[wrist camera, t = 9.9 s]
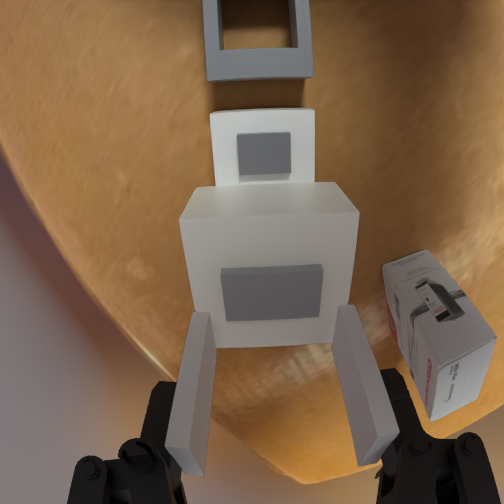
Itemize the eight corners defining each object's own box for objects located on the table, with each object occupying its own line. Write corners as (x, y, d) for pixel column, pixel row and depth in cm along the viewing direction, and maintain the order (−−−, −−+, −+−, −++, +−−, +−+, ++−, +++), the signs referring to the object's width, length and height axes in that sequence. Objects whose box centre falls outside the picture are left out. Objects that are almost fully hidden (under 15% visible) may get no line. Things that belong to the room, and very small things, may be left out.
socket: (215, 111, 19) (208, 114, 16) (305, 107, 19) (316, 110, 16) (235, 322, 28) (233, 350, 25) (301, 319, 28) (306, 347, 24)
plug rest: (207, -21, 14) (201, -36, 11) (298, -24, 14) (305, -39, 11) (213, 82, 18) (207, 81, 15) (304, 79, 18) (313, 77, 15)
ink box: (430, 313, 28) (479, 401, 18) (389, 330, 29) (428, 425, 18) (428, 245, 24) (501, 336, 14) (379, 263, 25) (438, 368, 14)
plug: (202, 176, 21) (175, 225, 14) (325, 171, 20) (363, 217, 13) (214, 279, 25) (202, 354, 18) (320, 275, 25) (342, 348, 18)
